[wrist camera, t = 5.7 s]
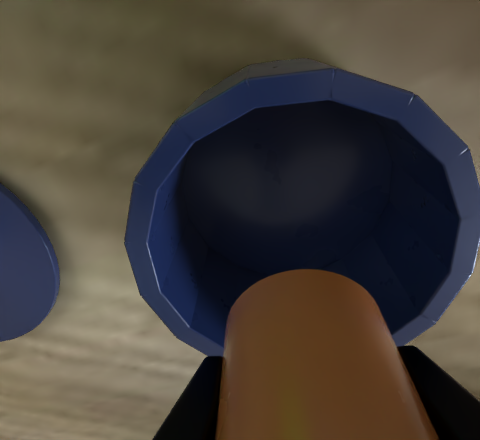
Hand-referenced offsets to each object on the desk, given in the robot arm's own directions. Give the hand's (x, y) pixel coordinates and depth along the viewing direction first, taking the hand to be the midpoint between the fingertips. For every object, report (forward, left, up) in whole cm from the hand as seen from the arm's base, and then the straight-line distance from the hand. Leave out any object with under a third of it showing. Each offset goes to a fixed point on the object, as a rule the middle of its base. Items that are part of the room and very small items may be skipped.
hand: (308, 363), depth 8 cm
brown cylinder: (0, 0, -1) cm, 1 cm away
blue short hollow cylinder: (0, 0, -11) cm, 11 cm away
